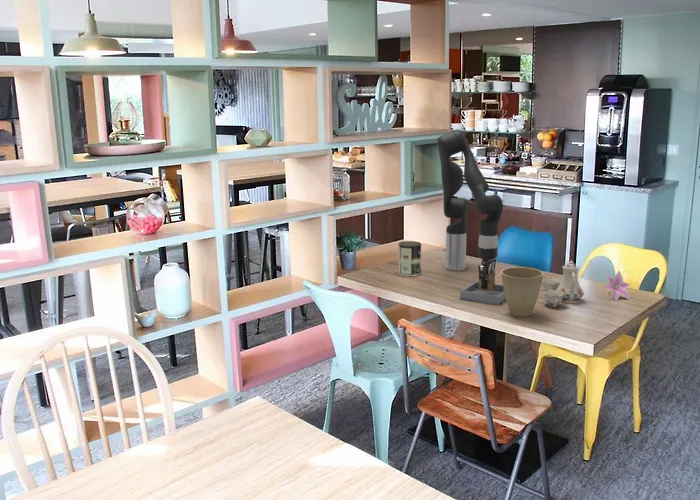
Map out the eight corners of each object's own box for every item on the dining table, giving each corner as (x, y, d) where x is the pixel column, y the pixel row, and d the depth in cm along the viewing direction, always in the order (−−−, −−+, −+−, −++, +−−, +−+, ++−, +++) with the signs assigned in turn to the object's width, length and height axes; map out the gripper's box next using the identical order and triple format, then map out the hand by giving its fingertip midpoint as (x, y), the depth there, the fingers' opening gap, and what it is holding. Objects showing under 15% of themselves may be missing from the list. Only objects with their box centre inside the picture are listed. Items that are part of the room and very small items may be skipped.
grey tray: (474, 289, 276) (474, 281, 275) (512, 294, 268) (512, 286, 267) (460, 299, 263) (460, 290, 262) (499, 305, 255) (499, 296, 254)
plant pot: (503, 305, 254) (505, 265, 251) (543, 310, 249) (545, 269, 245) (496, 317, 241) (497, 275, 237) (538, 322, 235) (540, 279, 232)
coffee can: (420, 270, 307) (420, 240, 304) (421, 276, 297) (422, 245, 294) (397, 270, 307) (397, 241, 304) (399, 276, 297) (399, 246, 294)
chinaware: (536, 292, 276) (533, 254, 273) (577, 290, 273) (575, 251, 270) (544, 314, 249) (542, 271, 246) (591, 311, 246) (589, 268, 243)
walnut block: (482, 286, 268) (483, 270, 266) (494, 288, 266) (495, 271, 264) (478, 289, 264) (478, 272, 262) (490, 291, 261) (491, 274, 260)
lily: (597, 302, 261) (609, 284, 255) (593, 283, 270) (605, 266, 264) (626, 311, 261) (638, 294, 255) (621, 292, 270) (633, 275, 264)
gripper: (485, 241, 268) (483, 281, 272) (472, 248, 257) (471, 290, 260) (503, 243, 265) (501, 284, 269) (491, 250, 253) (489, 292, 257)
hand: (486, 286), depth 264 cm, fingers closed on walnut block, 5 cm apart
